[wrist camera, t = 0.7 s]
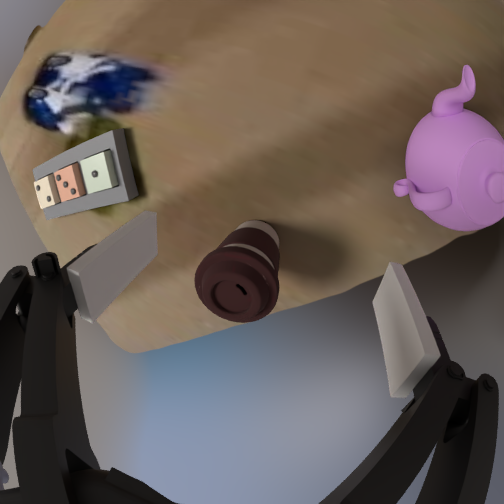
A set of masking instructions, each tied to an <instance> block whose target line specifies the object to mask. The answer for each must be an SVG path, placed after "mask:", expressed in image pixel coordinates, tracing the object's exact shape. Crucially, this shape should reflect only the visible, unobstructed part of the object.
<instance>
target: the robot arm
mask: <svg viewBox="0 0 504 504" xmlns="http://www.w3.org/2000/svg"><path fill="white" fill-rule="evenodd" d="M157 255H158V252H157V220H156V212H150V211H144V212H142V213H141V214H139V215H138V216H136V217H135V218H133V219H132V220H130V221H129V222H128V223H126V224H125V225H123V226H122V227H120V228H119V229H118V230H116V231H115V232H113V233H112V234H110V235H109V236H108V237H106V238H105V239H104V240H102V241H101V242H99V243H98V244H95V245H93V246H90V247H88V248H87V249H85V250H84V251H83V252H82V253H80V254H79V255H77V257H75V258H74V259H72V260H71V261H70V262H68V263H67V264H66V265H65V266H63V267H62V268H61V269H60V266H59V262H58V258H57V255H56V254H55V253H52V252H46V253H42V254H40V255H38V256H37V257H35V258H34V259H33V260H32V266H33V268H34V272H35V275H36V276H30V275H29V272H28V269H27V267H26V266H16V267H13V268H12V269H11V270H10V271H9V272H8V273H7V274H6V276H5V277H4V279H3V280H2V282H1V283H0V504H178V503H174V502H172V501H170V500H169V499H167V498H166V497H164V496H163V495H161V494H160V493H158V492H157V491H155V490H154V489H152V488H151V487H149V486H148V485H147V484H145V483H143V482H142V481H140V480H138V479H135V478H133V477H131V476H129V475H127V474H125V473H123V472H121V471H119V470H117V469H115V468H113V467H112V468H111V470H110V471H107V470H101V469H100V467H99V464H98V461H97V459H96V457H95V455H94V453H93V451H92V449H91V447H90V443H89V439H88V434H87V430H86V425H85V419H84V414H83V408H82V401H81V394H80V387H79V378H78V367H77V356H76V355H77V354H76V335H75V316H74V312H75V311H76V310H77V309H78V310H79V313H80V316H81V318H82V319H84V320H86V321H89V322H91V323H94V322H95V320H96V319H97V318H98V317H99V316H100V315H101V314H102V313H103V312H104V310H105V309H106V308H107V307H108V306H109V305H110V304H111V303H112V302H113V301H114V299H115V298H116V297H117V296H118V295H119V294H120V293H121V292H122V291H123V290H124V289H125V288H126V287H127V286H128V284H129V283H130V282H131V281H132V280H133V279H134V278H135V277H136V276H137V275H138V274H139V273H140V272H141V271H142V270H143V269H144V268H145V267H146V266H147V265H148V264H149V263H150V262H151V261H152V260H153V259H154V258H155V257H156V256H157ZM373 305H374V310H375V314H376V319H377V323H378V328H379V332H380V337H381V342H382V347H383V353H384V358H385V363H386V370H387V376H388V382H389V389H390V395H391V397H393V398H406V397H407V396H408V395H409V394H410V392H411V391H412V390H413V392H414V398H413V399H412V400H411V401H410V402H409V403H408V404H407V405H406V406H405V408H403V409H402V412H403V413H402V414H401V415H400V417H399V418H398V420H397V421H396V422H395V423H394V425H393V426H392V427H391V429H390V430H389V431H388V432H387V434H386V435H385V436H384V437H383V439H382V440H381V441H380V442H379V444H378V445H377V446H376V447H375V448H374V449H373V450H372V452H371V453H370V454H369V455H368V456H367V457H366V458H365V460H364V461H363V462H362V463H361V464H360V465H359V466H358V467H357V468H356V469H355V470H354V471H353V472H352V473H351V474H350V475H349V476H348V477H347V478H346V479H345V480H344V481H343V482H342V483H341V484H340V485H339V486H338V487H337V488H336V489H335V490H334V491H332V492H331V493H330V494H329V495H328V496H327V497H326V498H325V499H324V500H322V501H321V502H320V503H319V504H396V503H397V502H398V501H399V499H400V498H401V497H402V496H403V494H404V493H405V491H406V490H407V489H408V487H409V486H410V485H411V483H412V482H413V480H414V479H415V477H416V476H417V474H418V473H419V471H420V470H421V468H422V467H423V465H424V463H425V462H426V460H427V458H428V457H429V455H430V453H431V452H432V450H433V448H434V447H435V445H436V443H437V445H436V448H435V452H434V455H433V458H432V461H431V464H430V467H429V470H428V473H427V476H426V478H425V481H424V484H423V487H422V489H421V492H420V494H419V496H418V499H417V501H416V503H415V504H484V503H485V500H486V496H487V492H488V488H489V483H490V478H491V473H492V468H493V462H494V455H495V448H496V439H497V428H498V405H499V403H498V402H499V392H498V391H499V390H498V385H497V383H496V380H495V379H494V378H493V377H492V376H490V375H489V374H481V376H480V377H479V378H478V379H477V380H473V379H470V378H467V377H466V376H465V372H464V370H463V368H462V367H461V366H460V365H459V364H458V363H456V362H454V361H451V360H450V357H449V355H448V352H447V349H446V347H445V344H444V342H443V340H442V337H441V334H439V333H440V332H439V330H438V327H437V325H436V324H435V322H434V321H433V320H432V319H431V317H428V316H425V314H424V311H423V309H422V307H421V304H420V302H419V300H418V298H417V295H416V293H415V291H414V289H413V287H412V285H411V283H410V280H409V278H408V276H407V274H406V272H405V270H404V268H403V266H402V264H398V263H393V262H389V265H388V267H387V270H386V272H385V275H384V277H383V280H382V282H381V284H380V286H379V289H378V291H377V293H376V296H375V298H374V300H373ZM16 306H17V307H18V310H19V312H18V314H16ZM20 382H21V415H20V417H15V418H14V420H13V425H12V429H13V430H12V431H13V445H14V455H15V463H16V470H17V476H18V482H19V487H17V488H12V489H7V490H4V487H3V483H7V482H8V480H9V475H8V473H7V472H6V470H5V469H3V466H2V465H3V462H4V460H5V456H6V452H7V448H8V441H9V435H10V429H11V423H12V417H13V412H14V407H15V402H16V398H17V394H18V390H19V386H20Z"/></svg>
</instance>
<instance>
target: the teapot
mask: <svg viewBox="0 0 504 504" xmlns="http://www.w3.org/2000/svg"><path fill="white" fill-rule="evenodd" d="M475 87H476V86H475V78H474V74H473V71H472V69H471V68H470V66H469V65H465V66H464V68H463V72H462V81H461V83H460V85H459V86H457V87H455V88H450V89H446V90H444V91H442V92H440V93H439V94H438V95H437V96H436V97H435V99H434V102H433V106H432V112H430V113H428V114H427V115H426V116H424V117H423V118H422V119H421V120H420V122H419V123H418V124H417V125H416V127H415V128H414V130H413V132H412V134H411V136H410V139H409V142H408V145H407V150H406V159H405V167H406V177H407V179H401V180H398V181H397V182H395V183H394V193H395V195H396V196H398V197H402V196H405V195H407V194H409V196H410V199H411V202H412V204H413V205H414V207H415V208H417V209H418V210H421V211H423V212H424V213H425V214H426V215H427V216H428V217H429V218H430V219H432V220H433V221H435V222H436V223H438V224H440V225H442V226H444V227H447V228H450V229H453V230H459V231H472V230H478V229H482V228H485V227H487V226H490V225H492V224H494V223H496V222H497V221H499V220H500V219H501V218H503V217H504V140H503V138H502V136H501V135H500V134H499V132H498V131H497V130H496V129H495V128H494V127H493V126H492V125H491V124H490V123H489V122H488V121H487V120H486V119H484V118H483V117H482V116H480V115H478V114H476V113H474V112H472V111H470V110H467V109H464V108H463V102H466V101H469V100H471V99H472V98H473V96H474V93H475Z"/></svg>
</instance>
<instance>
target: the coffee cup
mask: <svg viewBox="0 0 504 504" xmlns="http://www.w3.org/2000/svg"><path fill="white" fill-rule="evenodd" d="M279 258H280V254H279V238H278V235H277V233H276V231H275V230H274V229H273V228H272V227H271V226H270V225H269V224H267V223H265V222H262V221H258V220H251V221H247V222H244V223H242V224H241V225H240V226H239V227H238V228H237V229H236V230H235V231H233V232H232V233H231V234H229V235H228V237H227V238H226V239H225V240H224V241H223V242H222V243H221V244H220V245H219V247H218V248H217V249H216V250H214V251H212V252H210V253H209V254H208V255H207V256H206V257H205V258H204V259H203V260H202V262H201V263H200V265H199V266H198V268H197V270H196V273H195V288H196V291H197V294H198V296H199V298H200V300H201V301H202V302H203V304H204V305H205V306H206V307H207V308H208V309H209V310H210V311H212V312H213V313H214V314H216V315H218V316H219V317H221V318H224V319H226V320H229V321H234V322H243V323H245V322H253V321H256V320H259V319H261V318H263V317H265V316H266V315H268V314H269V313H270V312H271V311H272V309H273V308H274V307H275V305H276V302H277V299H278V294H279V280H278V268H279Z"/></svg>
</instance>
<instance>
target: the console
mask: <svg viewBox="0 0 504 504" xmlns="http://www.w3.org/2000/svg"><path fill="white" fill-rule="evenodd" d="M109 149H111V154H112V158H113V163H114V167H115V171H116V175H117V179H118V183H119V184H118V185H116V186H114V187H112V188H108V189H104V190H101V191H97V192H94V193H90V194H88V191H87V187H86V183H85V180H84V176H83V172H82V168H81V163H80V161H82V160H84V159H86V158H89V157H91V156H94V155H96V154H99V153H101V152H104V151H106V150H109ZM76 162H78V164H79V168H80V172H81V176H82V180H83V184H84V188H85V191H86V194H84V195H82V196H80V197H77V198H73V199H70V200H67V201H64V202H59V203H57V204H54V205H51V206H48V207H46V208H43V210H44V214H45V217H46V220H49V219H53V218H57V217H60V216H64V215H68V214H72V213H76V212H80V211H84V210H89V209H93V208H97V207H102V206H106V205H111V204H115V203H120V202H125V201H129V200H131V199H133V198H135V197H136V196H138V191H137V187H136V183H135V179H134V175H133V171H132V166H131V162H130V158H129V153H128V149H127V144H126V139H125V134H124V129H117V130H112V131H109V132H107V133H104V134H102V135H100V136H97V137H95V138H93V139H91V140H88V141H86V142H84V143H82V144H80V145H78V146H76V147H73V148H71V149H69V150H67V151H65V152H63V153H61V154H60V155H58V156H56V157H54V158H52V159H50V160H48V161H46V162H45V163H43V164H41V165H39V166H38V167H36V168H34V169H33V174H34V178H35V182H36V181H38V180H40V179H42V178H44V177H46V176H48V175H50V174H52V173H53V174H54V172H57V171H59V170H61V169H63V168H65V167H68V166H69V165H72V164H74V163H76ZM54 178H55V176H54ZM55 182H56V180H55ZM56 186H57V184H56ZM57 190H58V187H57ZM58 193H59V191H58ZM59 197H60V195H59ZM60 200H61V198H60Z"/></svg>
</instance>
